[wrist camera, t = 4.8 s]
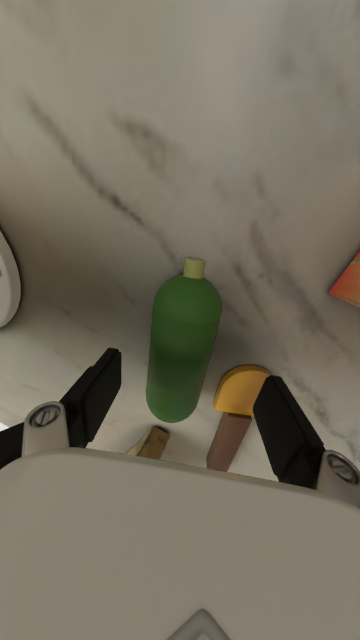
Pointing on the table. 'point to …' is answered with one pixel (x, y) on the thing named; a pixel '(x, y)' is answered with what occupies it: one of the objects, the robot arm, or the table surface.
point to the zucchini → (181, 342)
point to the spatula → (234, 412)
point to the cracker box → (349, 284)
